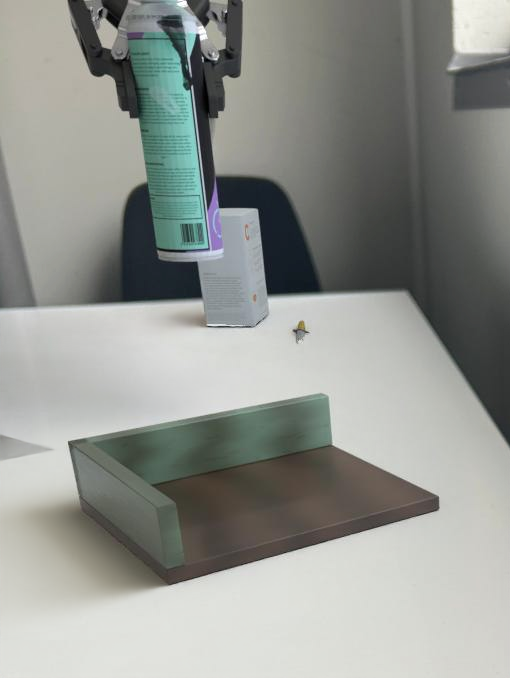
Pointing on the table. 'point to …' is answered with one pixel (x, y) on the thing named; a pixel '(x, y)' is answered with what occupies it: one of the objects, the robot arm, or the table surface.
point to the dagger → (300, 330)
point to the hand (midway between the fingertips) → (174, 109)
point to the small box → (236, 272)
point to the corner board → (235, 487)
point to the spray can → (175, 131)
